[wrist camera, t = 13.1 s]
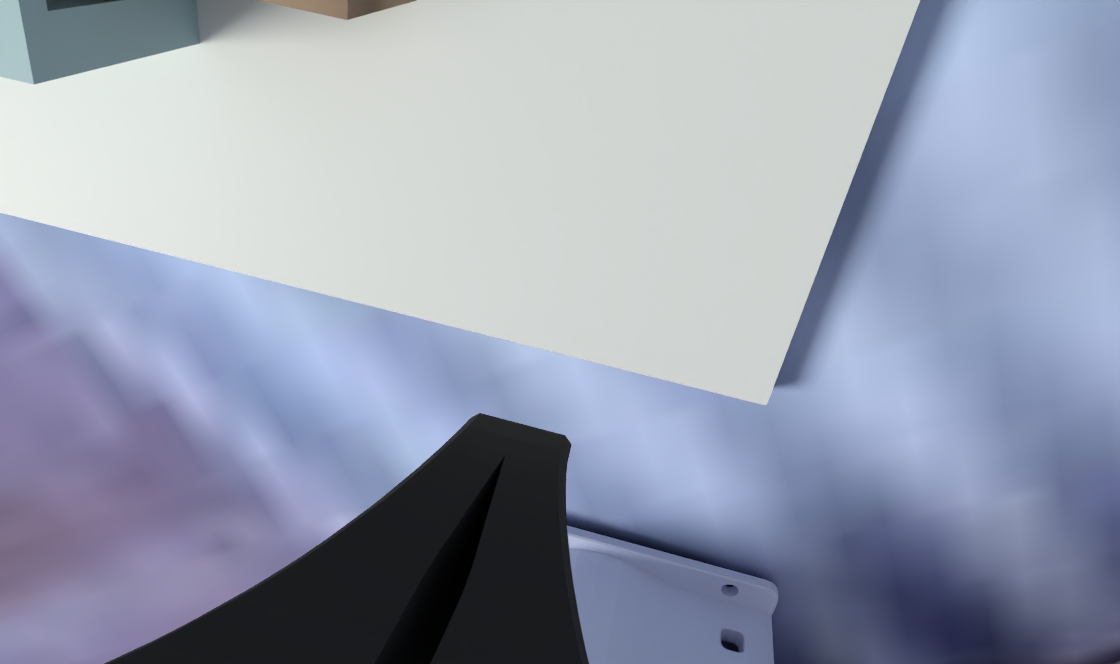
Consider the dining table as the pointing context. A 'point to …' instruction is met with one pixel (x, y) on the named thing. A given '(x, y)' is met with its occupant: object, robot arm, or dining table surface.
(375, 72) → the board
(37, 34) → the teal block
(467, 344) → the dining table surface
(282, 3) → the slat
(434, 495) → the robot arm
